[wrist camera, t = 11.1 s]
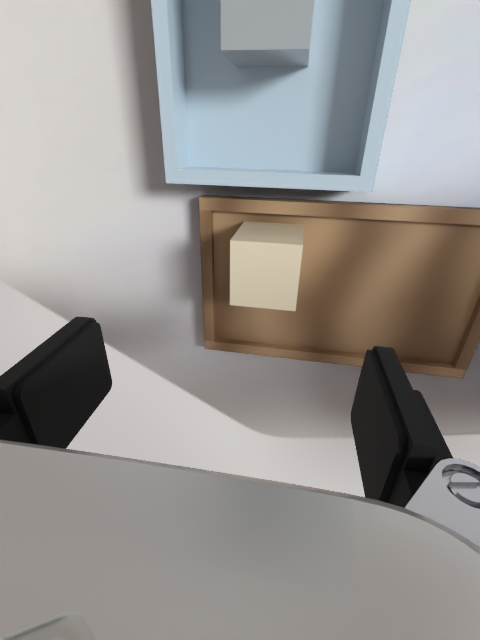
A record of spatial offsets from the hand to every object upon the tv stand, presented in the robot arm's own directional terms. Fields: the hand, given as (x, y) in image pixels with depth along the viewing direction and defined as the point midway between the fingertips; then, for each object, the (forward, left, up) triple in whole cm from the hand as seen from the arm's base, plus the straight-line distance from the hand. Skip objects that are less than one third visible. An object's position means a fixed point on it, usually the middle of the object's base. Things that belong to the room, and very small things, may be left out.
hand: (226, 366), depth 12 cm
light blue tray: (0, -11, -14) cm, 18 cm away
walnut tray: (-5, +2, -14) cm, 15 cm away
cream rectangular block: (0, 0, -14) cm, 14 cm away
